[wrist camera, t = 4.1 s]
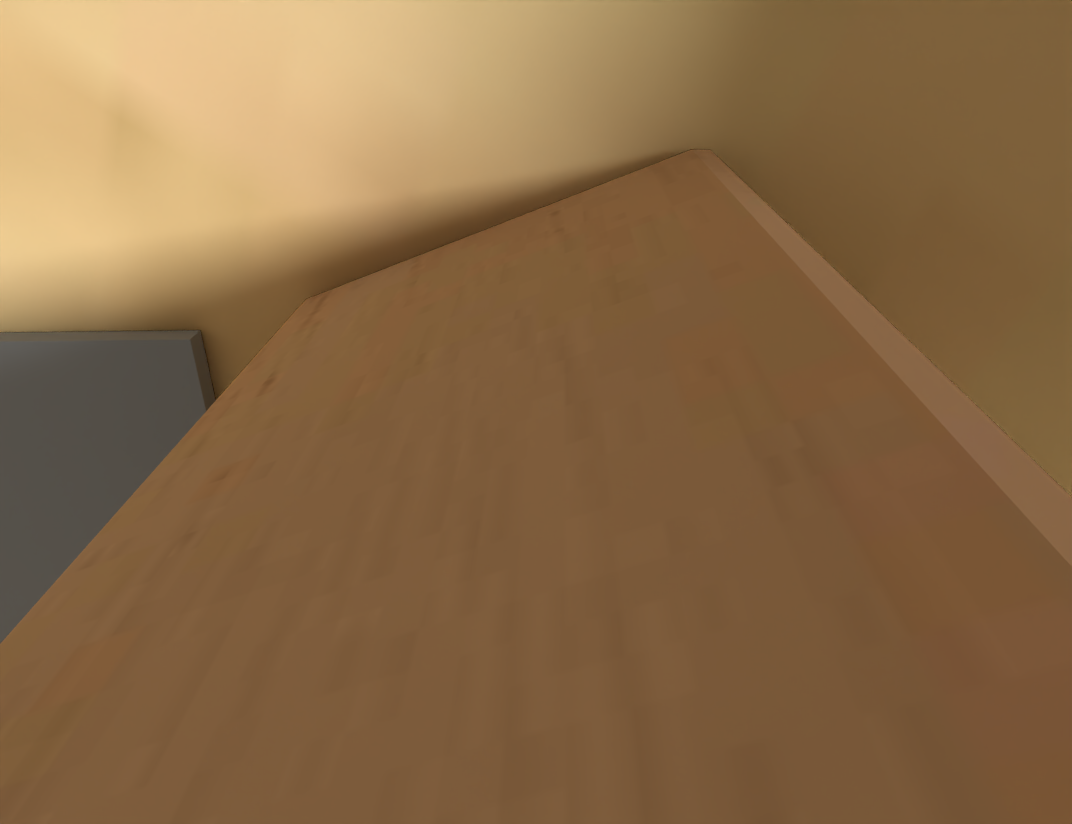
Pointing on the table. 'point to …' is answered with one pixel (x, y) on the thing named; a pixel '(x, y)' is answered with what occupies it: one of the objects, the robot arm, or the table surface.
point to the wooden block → (568, 558)
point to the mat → (83, 440)
